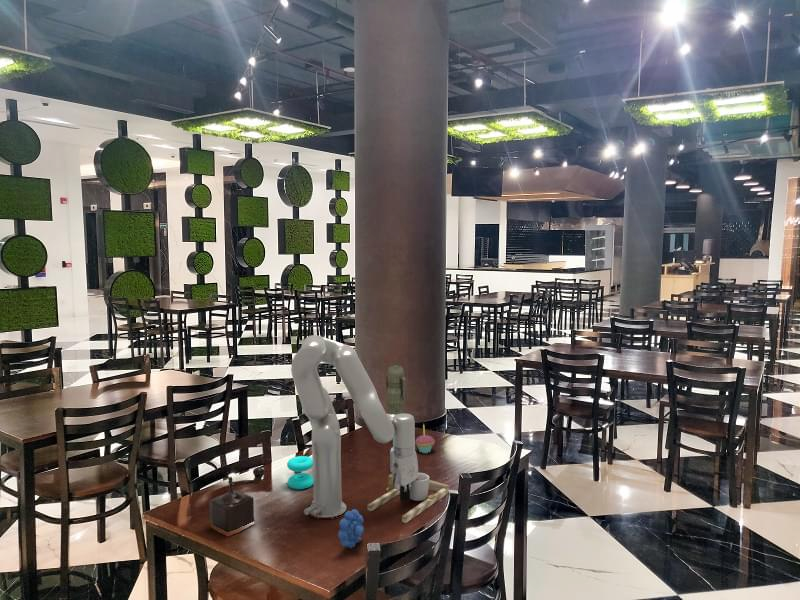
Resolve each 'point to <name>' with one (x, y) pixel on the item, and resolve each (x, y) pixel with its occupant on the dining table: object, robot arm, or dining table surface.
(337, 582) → the dining table surface
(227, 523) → the manual coffee grinder
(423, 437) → the cupcake
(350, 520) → the grapes
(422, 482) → the cup
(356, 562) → the dining table surface
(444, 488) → the frame
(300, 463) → the turquoise double ring spool
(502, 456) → the dining table surface
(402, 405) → the thermos
